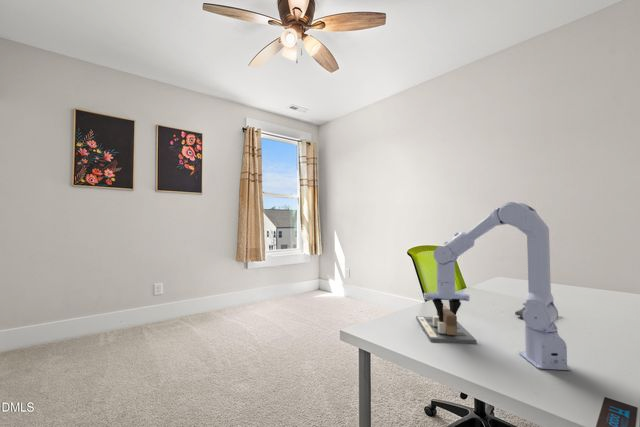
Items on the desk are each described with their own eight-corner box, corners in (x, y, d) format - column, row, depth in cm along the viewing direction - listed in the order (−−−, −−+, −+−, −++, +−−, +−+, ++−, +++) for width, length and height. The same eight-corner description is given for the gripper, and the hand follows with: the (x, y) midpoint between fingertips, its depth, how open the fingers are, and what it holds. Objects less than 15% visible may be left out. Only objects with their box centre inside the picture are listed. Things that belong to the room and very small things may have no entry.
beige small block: (445, 333, 98) (445, 324, 98) (439, 333, 98) (439, 323, 98) (443, 331, 99) (443, 321, 100) (437, 331, 100) (437, 321, 100)
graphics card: (523, 301, 130) (557, 307, 120) (524, 310, 130) (558, 316, 120) (506, 308, 120) (541, 315, 110) (506, 318, 120) (542, 325, 110)
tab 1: (440, 326, 104) (440, 317, 104) (434, 326, 104) (434, 317, 104) (438, 324, 106) (438, 315, 106) (432, 324, 106) (432, 315, 106)
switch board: (476, 343, 93) (476, 339, 93) (430, 341, 95) (430, 337, 95) (453, 320, 115) (453, 317, 115) (416, 318, 116) (416, 315, 117)
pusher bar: (456, 335, 96) (456, 316, 96) (447, 334, 96) (446, 315, 96) (445, 322, 108) (445, 305, 108) (436, 322, 108) (436, 305, 108)
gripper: (463, 279, 105) (464, 318, 105) (421, 278, 107) (421, 316, 106) (471, 283, 98) (472, 325, 98) (426, 282, 100) (426, 323, 99)
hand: (446, 321), depth 102 cm, fingers closed on pusher bar, 3 cm apart
